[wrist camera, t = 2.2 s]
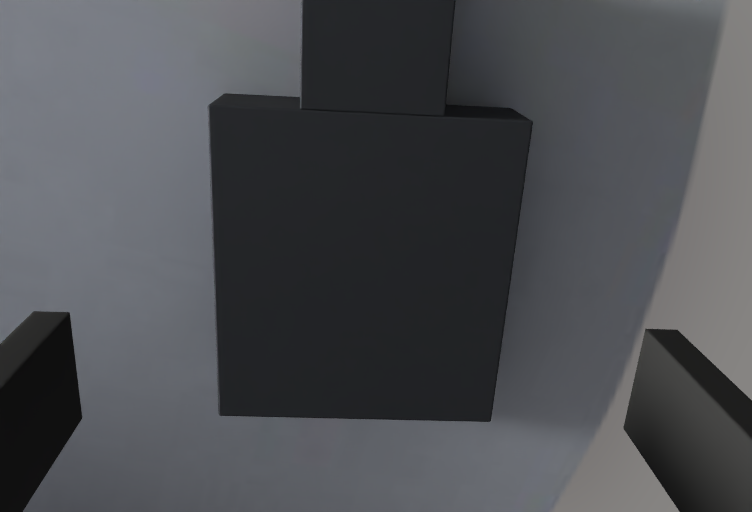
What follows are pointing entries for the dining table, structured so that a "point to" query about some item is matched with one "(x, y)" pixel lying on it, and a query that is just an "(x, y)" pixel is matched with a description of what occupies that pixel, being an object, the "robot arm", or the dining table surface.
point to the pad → (364, 227)
